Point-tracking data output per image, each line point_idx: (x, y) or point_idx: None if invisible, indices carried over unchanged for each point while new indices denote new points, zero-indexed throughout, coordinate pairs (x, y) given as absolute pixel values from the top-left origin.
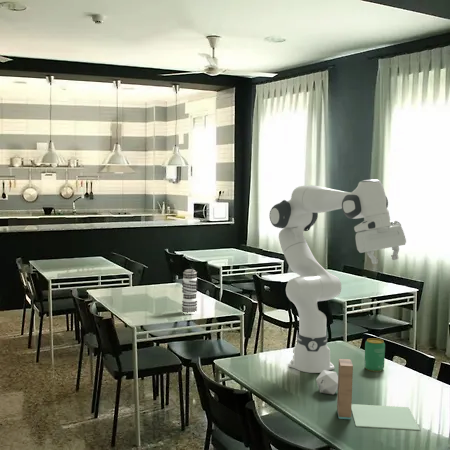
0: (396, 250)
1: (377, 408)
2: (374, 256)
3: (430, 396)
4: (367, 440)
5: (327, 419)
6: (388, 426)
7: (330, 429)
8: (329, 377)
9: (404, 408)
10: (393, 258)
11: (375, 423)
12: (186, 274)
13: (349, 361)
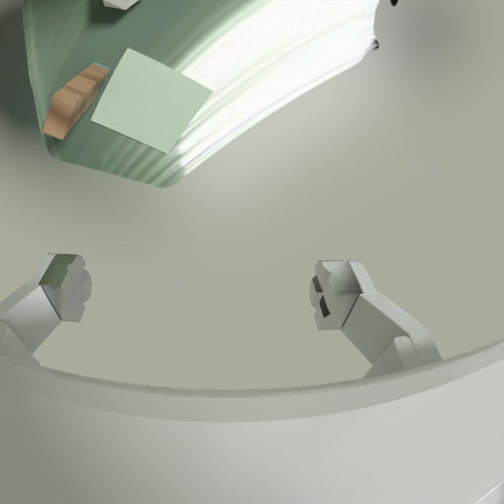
0: (377, 355)
1: (159, 77)
2: (45, 337)
3: (291, 74)
4: (86, 156)
5: None
6: (131, 134)
7: None
8: (109, 2)
9: (202, 92)
10: (319, 282)
11: (120, 121)
12: None
13: (67, 113)
